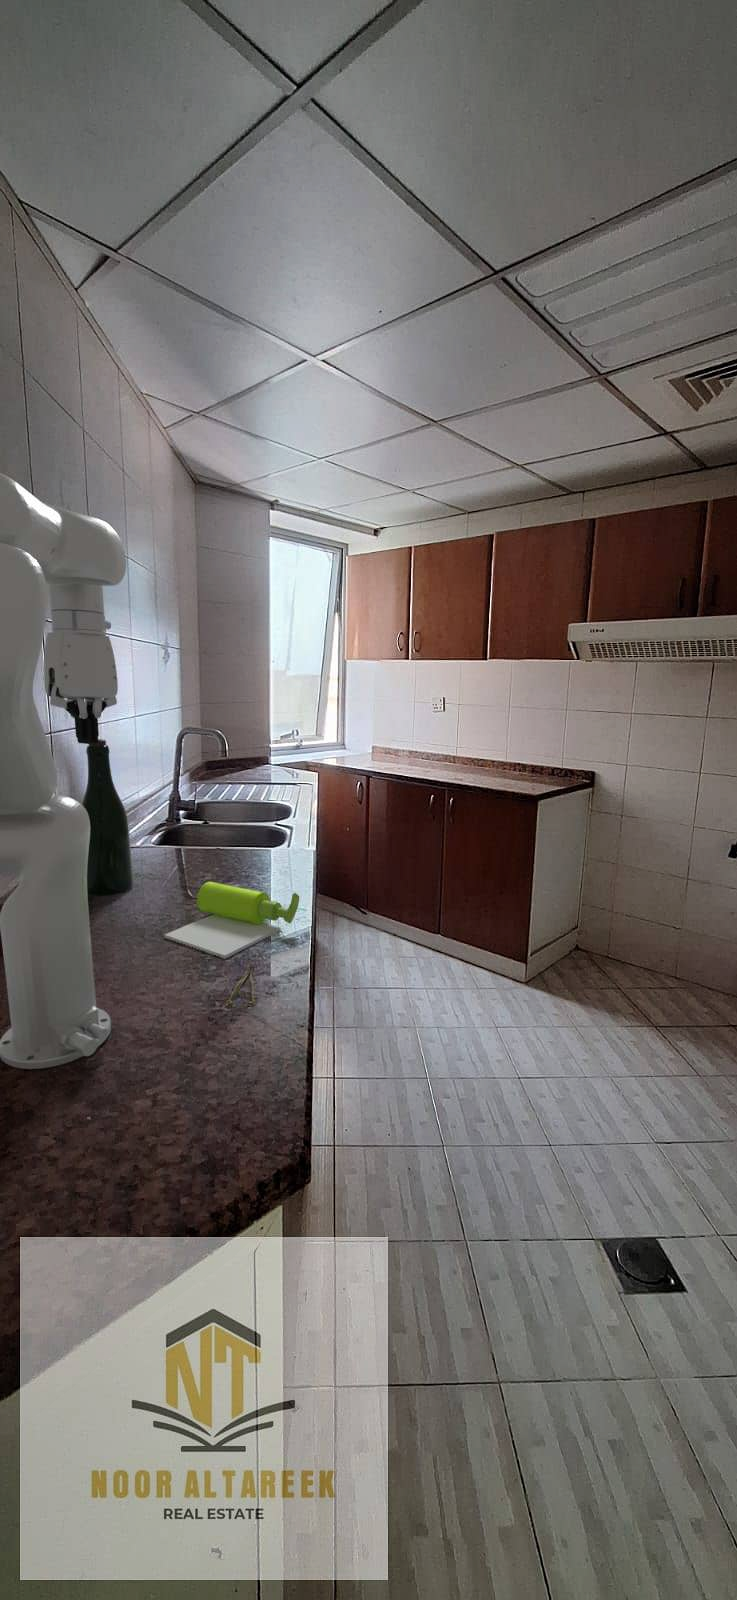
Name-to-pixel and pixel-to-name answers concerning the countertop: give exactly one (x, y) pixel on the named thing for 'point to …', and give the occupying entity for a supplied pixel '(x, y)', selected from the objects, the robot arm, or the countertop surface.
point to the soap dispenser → (243, 903)
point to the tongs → (241, 985)
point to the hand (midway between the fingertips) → (88, 742)
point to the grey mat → (222, 934)
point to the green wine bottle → (106, 828)
